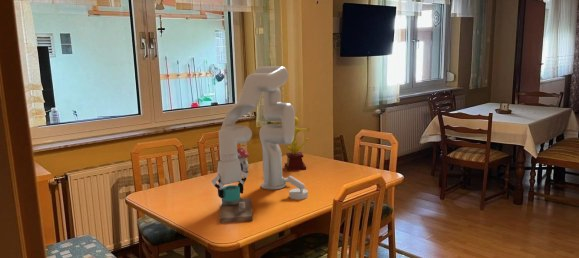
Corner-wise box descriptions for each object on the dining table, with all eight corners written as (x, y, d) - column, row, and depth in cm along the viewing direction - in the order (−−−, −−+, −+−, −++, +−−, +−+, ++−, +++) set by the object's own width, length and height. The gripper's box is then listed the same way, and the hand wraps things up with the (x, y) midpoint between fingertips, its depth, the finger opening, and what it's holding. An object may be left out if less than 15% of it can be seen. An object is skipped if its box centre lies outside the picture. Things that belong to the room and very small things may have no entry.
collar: (234, 195, 201) (234, 184, 201) (242, 198, 196) (242, 187, 195) (220, 198, 197) (219, 187, 196) (228, 202, 192) (227, 191, 191)
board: (251, 202, 203) (250, 184, 202) (252, 220, 181) (251, 200, 179) (222, 204, 202) (221, 185, 201) (220, 222, 180) (218, 202, 178)
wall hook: (292, 173, 214) (310, 175, 209) (293, 192, 215) (311, 195, 210) (282, 177, 207) (301, 180, 201) (283, 197, 208) (301, 200, 203)
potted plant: (276, 169, 259) (274, 117, 254) (292, 163, 271) (291, 114, 266) (295, 172, 250) (293, 119, 245) (312, 166, 262) (310, 115, 257)
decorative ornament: (232, 173, 253) (230, 147, 251) (236, 170, 259) (234, 145, 257) (247, 174, 251) (246, 147, 248) (251, 170, 257) (250, 145, 254)
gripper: (241, 152, 201) (244, 189, 204) (206, 159, 191) (209, 197, 194) (250, 155, 195) (252, 193, 198) (214, 162, 185) (217, 201, 188)
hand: (231, 195), depth 196 cm, fingers open, 9 cm apart
